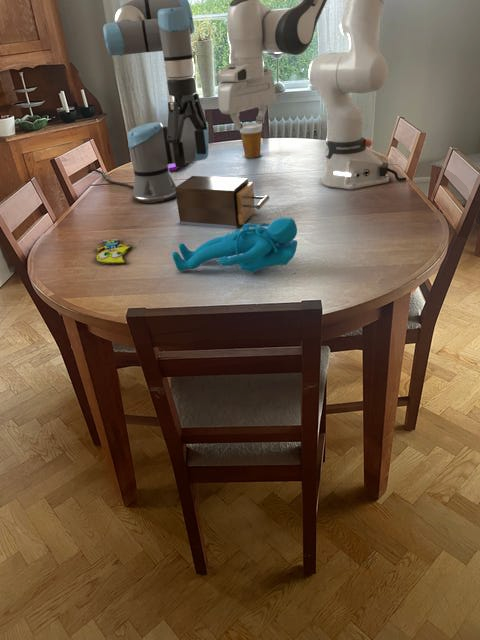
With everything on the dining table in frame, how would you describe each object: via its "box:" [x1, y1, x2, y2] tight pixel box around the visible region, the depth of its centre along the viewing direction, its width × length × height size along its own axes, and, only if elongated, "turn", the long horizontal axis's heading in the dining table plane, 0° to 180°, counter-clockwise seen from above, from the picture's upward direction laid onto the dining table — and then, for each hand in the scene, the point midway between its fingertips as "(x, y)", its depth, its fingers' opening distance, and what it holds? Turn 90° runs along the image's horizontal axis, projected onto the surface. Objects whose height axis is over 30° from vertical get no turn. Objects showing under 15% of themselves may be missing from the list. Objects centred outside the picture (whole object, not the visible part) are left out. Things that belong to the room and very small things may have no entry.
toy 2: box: [171, 217, 298, 274], centre depth 113 cm, size 17×11×30 cm
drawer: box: [235, 181, 270, 226], centre depth 140 cm, size 22×10×9 cm, turn 68°
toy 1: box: [95, 238, 133, 265], centre depth 129 cm, size 10×1×15 cm
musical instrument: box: [168, 162, 188, 172], centre depth 200 cm, size 24×2×20 cm
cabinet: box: [175, 175, 249, 229], centre depth 142 cm, size 18×11×11 cm, turn 68°
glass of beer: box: [238, 123, 263, 159], centre depth 199 cm, size 10×10×12 cm
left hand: (191, 160), depth 137 cm, fingers open, 13 cm apart
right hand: (249, 126), depth 133 cm, fingers open, 8 cm apart
